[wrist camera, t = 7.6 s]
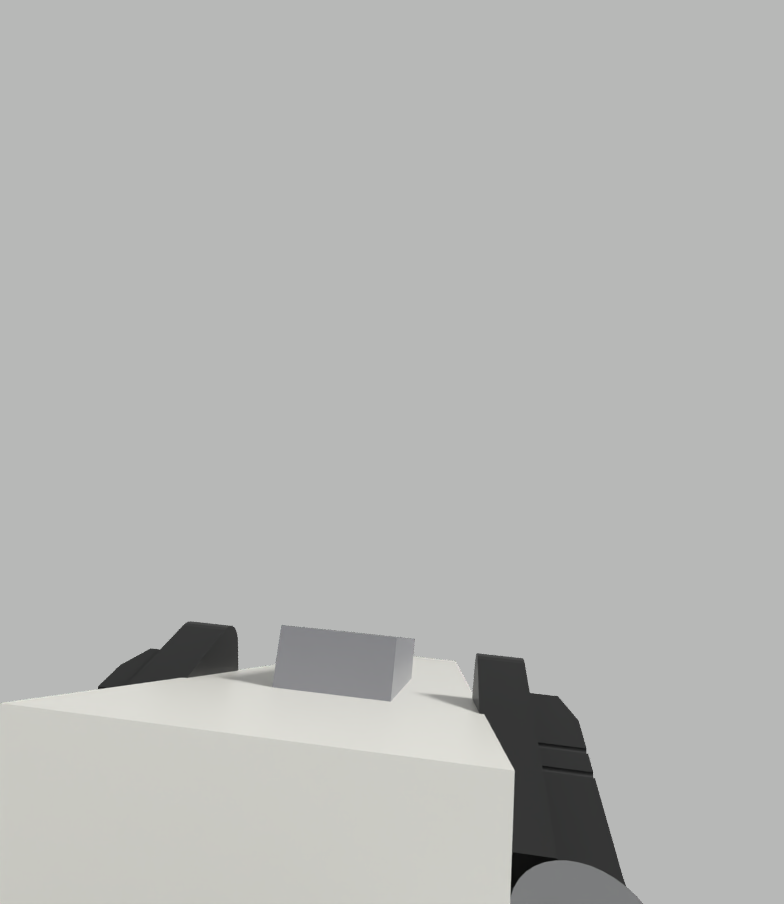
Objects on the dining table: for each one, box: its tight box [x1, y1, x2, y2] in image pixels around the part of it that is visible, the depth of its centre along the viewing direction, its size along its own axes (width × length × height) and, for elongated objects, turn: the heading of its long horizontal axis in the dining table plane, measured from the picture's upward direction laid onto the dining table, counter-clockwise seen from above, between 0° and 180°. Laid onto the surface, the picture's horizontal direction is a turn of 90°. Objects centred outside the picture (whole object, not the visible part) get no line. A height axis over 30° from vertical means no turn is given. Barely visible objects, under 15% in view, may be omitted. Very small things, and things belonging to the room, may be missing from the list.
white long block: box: [0, 625, 515, 904], centre depth 17 cm, size 27×4×4 cm, turn 175°
